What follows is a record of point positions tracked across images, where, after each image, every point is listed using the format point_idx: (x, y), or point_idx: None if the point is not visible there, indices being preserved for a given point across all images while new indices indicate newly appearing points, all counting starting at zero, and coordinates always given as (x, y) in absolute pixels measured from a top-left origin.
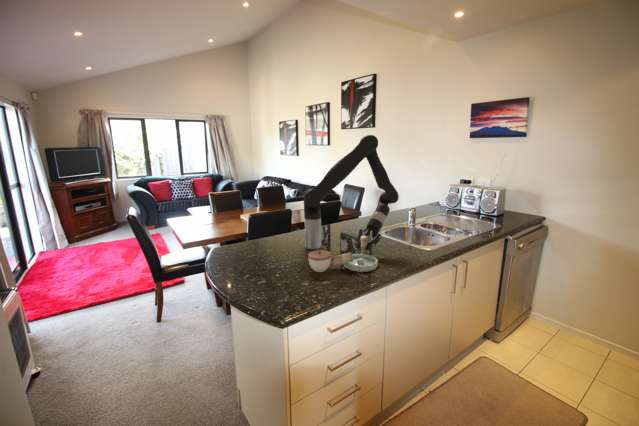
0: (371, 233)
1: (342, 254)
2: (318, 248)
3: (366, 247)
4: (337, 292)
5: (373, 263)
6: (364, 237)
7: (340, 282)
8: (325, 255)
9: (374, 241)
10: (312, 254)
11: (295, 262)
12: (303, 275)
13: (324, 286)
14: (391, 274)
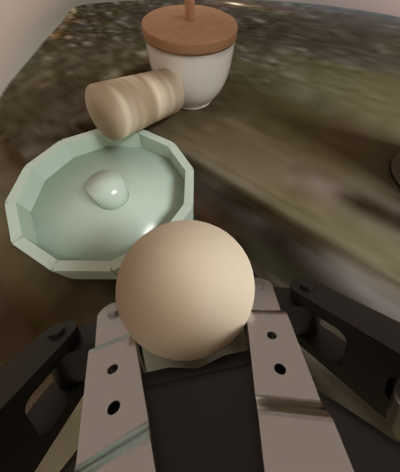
0: (102, 455)
1: (134, 77)
2: (397, 179)
3: None
4: (51, 67)
5: (54, 238)
6: (173, 254)
7: (79, 91)
8: (157, 21)
9: (37, 338)
10: (200, 9)
11: (282, 83)
12: None
13: (99, 65)
14: None
